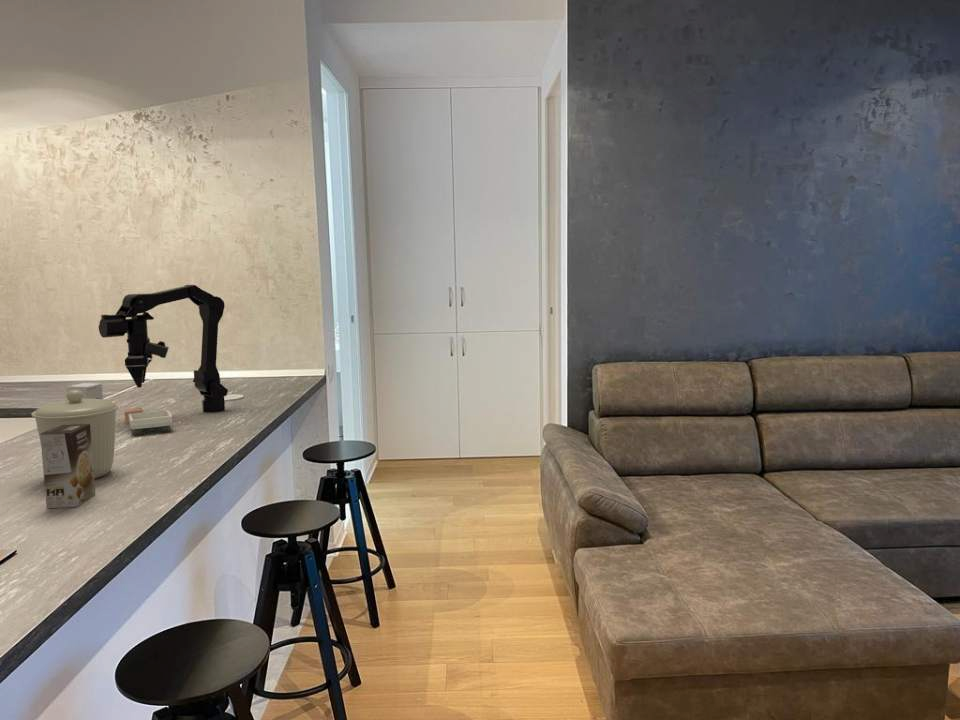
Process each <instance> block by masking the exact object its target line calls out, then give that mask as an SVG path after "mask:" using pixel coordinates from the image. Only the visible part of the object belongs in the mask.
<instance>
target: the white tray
mask: <svg viewBox="0 0 960 720" xmlns="http://www.w3.org/2000/svg"><path fill="white" fill-rule="evenodd" d="M128 416H129V424H128V425H129V427H130V431H131V430H133V434H134V435H137V436H138V437H139V435H140V436H142V435H143V434H142V433H143V429H147V428H148V429H149V428H150V429H151V428H157V427H159V428H160V427H161V430H162V431H163V432H165V433H170V431H171V426H174V425H173V423H174V422H173V416H172V414H171V412H170V411H169V410H168V409H164V410H153V411H143V412H142V413H132V414H128ZM137 436H136V437H137Z"/></svg>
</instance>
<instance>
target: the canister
mask: <svg viewBox="0 0 960 720" xmlns="http://www.w3.org/2000/svg"><path fill="white" fill-rule="evenodd" d="M65 395H66V396H65V397H66V400H60V401H54V402H50V403H46V404H44V405H42V406H40V407H38V408H37V409H36V410H34V411H32V412H31V417H32V418H35V423H36V428H37V432H38V437H39V440H40V443H41V436H40V434H41V433H43V432H46V431H48V430H50V429H53V428H55V427H58V426H60V425H70V424H90V430H91V442H92V455H93V468H94V480H95V479H98V478H101V477H103V476H106V474H108V473H109V472H110V471H111V469H112V468H113V464H114V455H115V444H116V443H115V439H116V417H117V416H116V414H117V412H116V411H117V410H118V409H119V405H118V404H117V403H113V401H111V400H108V399H105V398H103V399H83V393H82V392H81V391H80V390H71V391H69V392H68V393H67V392H66V394H65Z"/></svg>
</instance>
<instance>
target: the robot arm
mask: <svg viewBox="0 0 960 720" xmlns="http://www.w3.org/2000/svg"><path fill="white" fill-rule="evenodd" d="M185 299H189V300H190V301H191V302H192V303H193V304H194V305H196V306H198V312H199V313H198V314H199V316H200V319H201V322H202V335H201V338H202V339H201V357H200V365H199V368H198V370H196V369H194V370H193V380H192V383H194V387H195V388H196V389H197V391H199V393H200V395H201V396H202V397H203V399H202V400H201V406H202V407H201V408H202V410H201V411H202V413H217V412H218V413H219V412H222V411H226V405H225V404H226V403H225V397H227V395H228V393H229V392H228V391H229V390H228V389H227V388H226V386H224V385H223V384H222V383H221V377H220V376H221V375H220V372H219V371H218V370H219V369H218V367H217V355H218V333H219V323H220V322H221V319H222V318H223V316H224V312H225V302H224V300H223V299H222V298H221V297H219V296H215V295H213V294H212V293H209V292H208V291H206V290H204V289H202V288H200V287H199V286H198V285H195V284H185V285H183V286H180V287H175V288H171V289H166V290H161V291H157V292H151V293H129V294H126V295H125V296H124V297H123V299H122V300H121V301H122V304H121V305H120V307H119V308H118V310H117V311H116V313H115V314H101V316H100V317H101V319H100V320H99V325H98V332H99V335H100V336H101V338H105V339H106V338H115V337H117V338H118V337H124V336H125V335H126V334H127V335H126V337H127V339H126V343H127V350H128V352H127V357H125V359H124V366H125V368H126V369H127V371H128V373H129V375H130V376H131V378H132V380H133V382H134V384H135V385H136V387H137V388H139V389H140V388H142V387H143V384H144V383H145V380H146V376H147V368H148V367H149V365H150V363H151V362H152V361H153V355H154V356H158V357H160V358H161V359H166V357H167V354H168V351H169V347H168V345H167V346H166V343H165V341H162V340H159V342H157V343H156V342H151V339H150V337H149V335H148V333H149V332H148V321H149V320H150V321H151V320H152V321H153V320H154V319H155V318H154V317H153V315H151V314H150V313H149V312H148V311H150V310H153V309H154V308H156V307H157V306H158V307H159V306H160V305H163V304H168V303H173V302H176V301H181V300H185Z"/></svg>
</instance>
